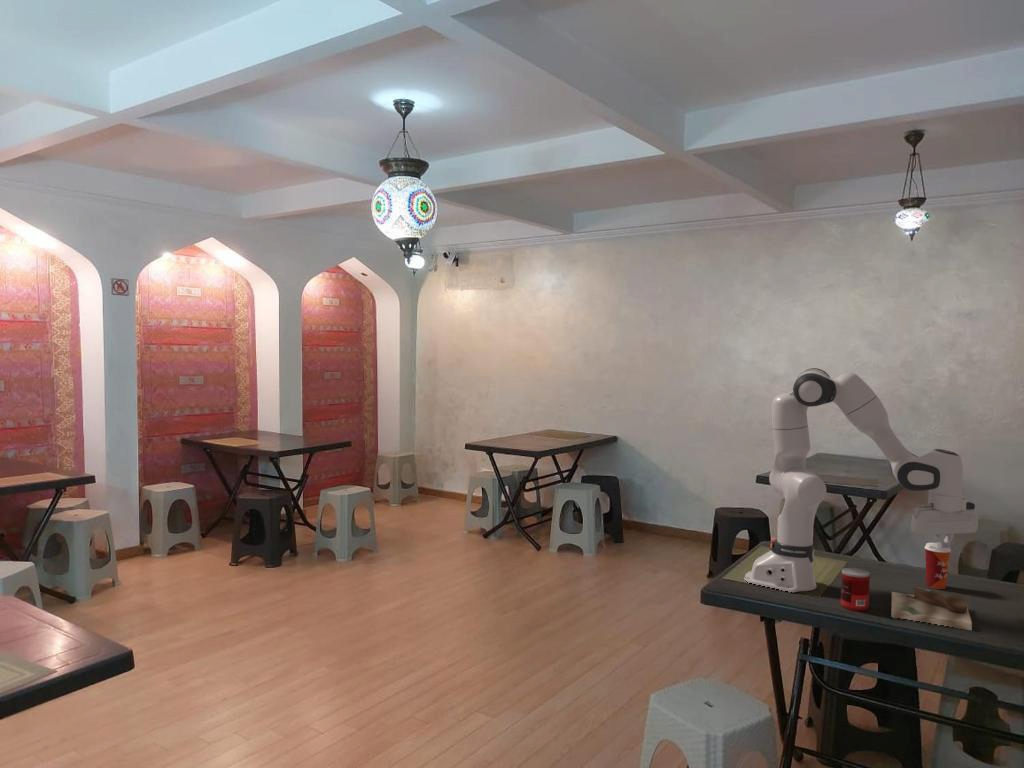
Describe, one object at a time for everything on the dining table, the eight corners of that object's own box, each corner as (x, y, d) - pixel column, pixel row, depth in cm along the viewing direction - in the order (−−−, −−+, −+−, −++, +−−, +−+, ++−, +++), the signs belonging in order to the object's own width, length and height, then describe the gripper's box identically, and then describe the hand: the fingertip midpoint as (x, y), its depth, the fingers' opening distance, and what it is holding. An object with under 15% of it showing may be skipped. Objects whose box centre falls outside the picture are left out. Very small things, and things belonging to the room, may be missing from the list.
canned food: (872, 607, 224) (873, 571, 223) (862, 613, 218) (863, 577, 218) (846, 600, 229) (848, 565, 229) (836, 606, 224) (837, 571, 223)
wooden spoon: (970, 610, 215) (970, 598, 215) (961, 613, 212) (962, 601, 212) (920, 595, 227) (921, 584, 227) (911, 598, 224) (912, 587, 224)
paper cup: (942, 592, 238) (944, 549, 237) (918, 585, 244) (920, 544, 243) (953, 587, 243) (955, 546, 242) (929, 581, 249) (931, 540, 248)
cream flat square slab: (891, 617, 215) (891, 610, 215) (891, 598, 232) (891, 591, 232) (971, 630, 206) (972, 623, 206) (965, 609, 223) (966, 602, 223)
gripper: (921, 506, 219) (919, 551, 220) (982, 504, 222) (980, 549, 223) (906, 501, 226) (905, 546, 226) (966, 499, 229) (965, 543, 229)
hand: (943, 547), depth 225 cm, fingers closed
